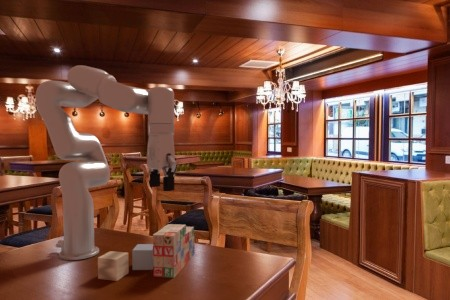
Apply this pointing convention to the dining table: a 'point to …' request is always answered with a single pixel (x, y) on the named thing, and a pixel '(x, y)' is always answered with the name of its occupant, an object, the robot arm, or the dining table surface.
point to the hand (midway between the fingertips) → (161, 188)
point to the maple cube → (113, 265)
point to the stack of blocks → (172, 249)
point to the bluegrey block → (142, 257)
